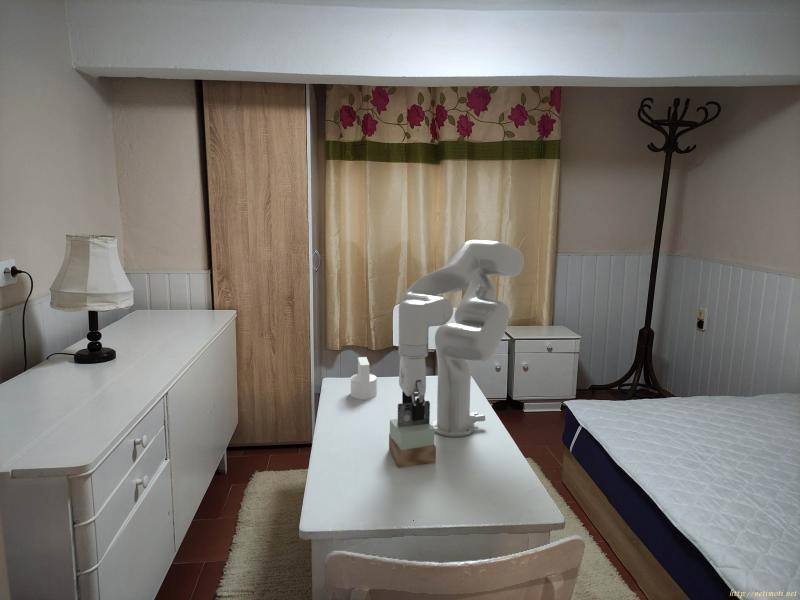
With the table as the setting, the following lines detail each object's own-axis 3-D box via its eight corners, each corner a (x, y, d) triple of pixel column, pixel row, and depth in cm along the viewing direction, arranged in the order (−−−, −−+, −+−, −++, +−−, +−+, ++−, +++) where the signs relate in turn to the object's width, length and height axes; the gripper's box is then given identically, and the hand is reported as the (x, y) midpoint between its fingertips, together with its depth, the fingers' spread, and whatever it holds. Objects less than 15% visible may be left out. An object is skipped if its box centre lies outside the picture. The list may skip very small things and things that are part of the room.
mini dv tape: (427, 421, 142) (428, 400, 141) (429, 423, 141) (429, 402, 140) (397, 424, 140) (397, 403, 139) (399, 427, 139) (399, 405, 138)
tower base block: (424, 447, 148) (424, 430, 148) (435, 464, 139) (435, 446, 138) (389, 451, 146) (388, 434, 145) (397, 469, 137) (397, 451, 136)
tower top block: (421, 430, 147) (421, 415, 146) (434, 444, 139) (434, 428, 138) (389, 435, 144) (389, 419, 143) (401, 450, 136) (401, 433, 135)
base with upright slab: (349, 390, 190) (349, 357, 187) (375, 389, 191) (374, 356, 189) (352, 400, 181) (351, 365, 179) (378, 398, 183) (378, 364, 180)
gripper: (391, 340, 144) (391, 401, 148) (407, 359, 128) (407, 427, 131) (418, 339, 146) (418, 398, 149) (437, 357, 129) (436, 424, 133)
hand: (413, 412), depth 140 cm, fingers open, 9 cm apart
